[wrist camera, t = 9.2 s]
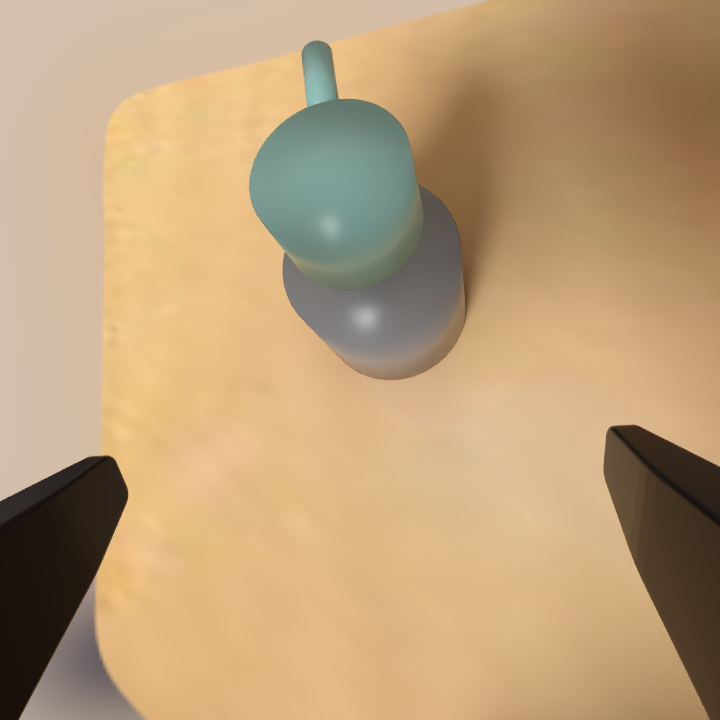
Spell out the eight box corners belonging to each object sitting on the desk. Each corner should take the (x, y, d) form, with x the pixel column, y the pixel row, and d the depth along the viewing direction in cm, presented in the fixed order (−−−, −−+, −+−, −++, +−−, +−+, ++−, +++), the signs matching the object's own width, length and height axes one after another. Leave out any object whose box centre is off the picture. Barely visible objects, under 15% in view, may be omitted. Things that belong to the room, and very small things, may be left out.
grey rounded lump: (478, 365, 22) (477, 321, 17) (332, 391, 23) (289, 358, 18) (451, 233, 24) (442, 158, 19) (319, 264, 26) (277, 201, 20)
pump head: (440, 297, 17) (424, 220, 13) (312, 323, 18) (253, 261, 13) (409, 133, 19) (386, 17, 15) (297, 164, 20) (242, 64, 16)
